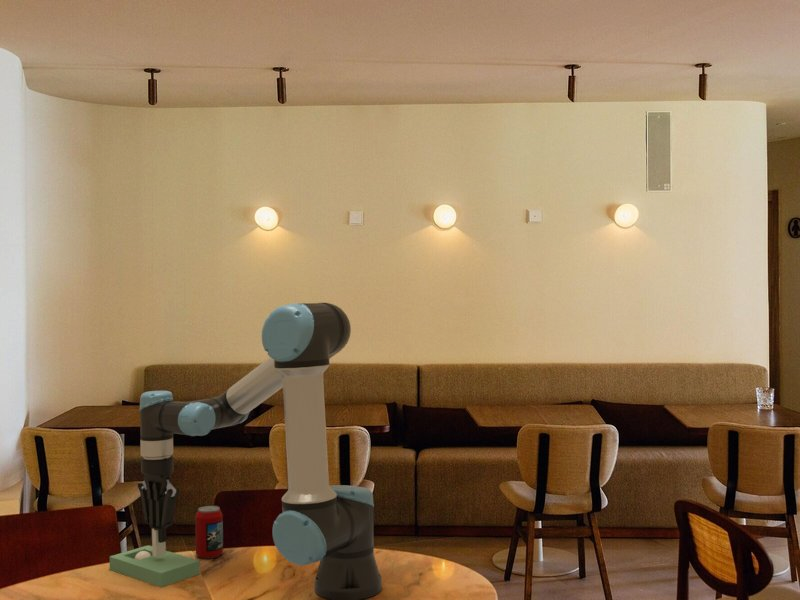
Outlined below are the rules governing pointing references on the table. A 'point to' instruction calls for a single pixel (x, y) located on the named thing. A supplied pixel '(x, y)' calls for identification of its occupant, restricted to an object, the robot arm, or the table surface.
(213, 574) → the table surface
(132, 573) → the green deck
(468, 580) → the table surface
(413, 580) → the table surface
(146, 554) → the ball
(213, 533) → the beverage can
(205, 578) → the table surface
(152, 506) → the robot arm
